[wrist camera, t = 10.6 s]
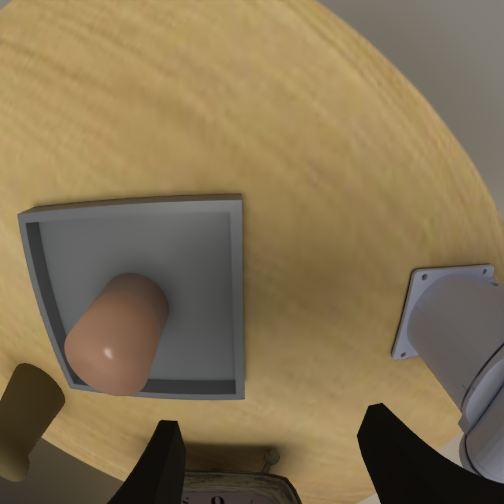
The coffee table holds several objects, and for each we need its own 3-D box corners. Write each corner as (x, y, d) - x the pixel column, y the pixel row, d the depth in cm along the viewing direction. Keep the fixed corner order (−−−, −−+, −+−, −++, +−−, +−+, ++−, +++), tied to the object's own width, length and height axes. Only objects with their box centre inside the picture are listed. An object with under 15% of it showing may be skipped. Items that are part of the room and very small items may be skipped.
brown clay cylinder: (165, 274, 18) (139, 329, 12) (172, 336, 20) (154, 400, 14) (98, 272, 18) (54, 321, 12) (109, 331, 19) (78, 389, 14)
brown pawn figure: (6, 361, 21) (-46, 436, 10) (47, 364, 21) (-7, 455, 10) (33, 405, 23) (-5, 479, 12) (75, 411, 23) (40, 498, 13)
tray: (240, 193, 17) (242, 200, 15) (243, 381, 22) (244, 399, 20) (34, 207, 16) (17, 214, 14) (78, 372, 21) (70, 388, 19)
